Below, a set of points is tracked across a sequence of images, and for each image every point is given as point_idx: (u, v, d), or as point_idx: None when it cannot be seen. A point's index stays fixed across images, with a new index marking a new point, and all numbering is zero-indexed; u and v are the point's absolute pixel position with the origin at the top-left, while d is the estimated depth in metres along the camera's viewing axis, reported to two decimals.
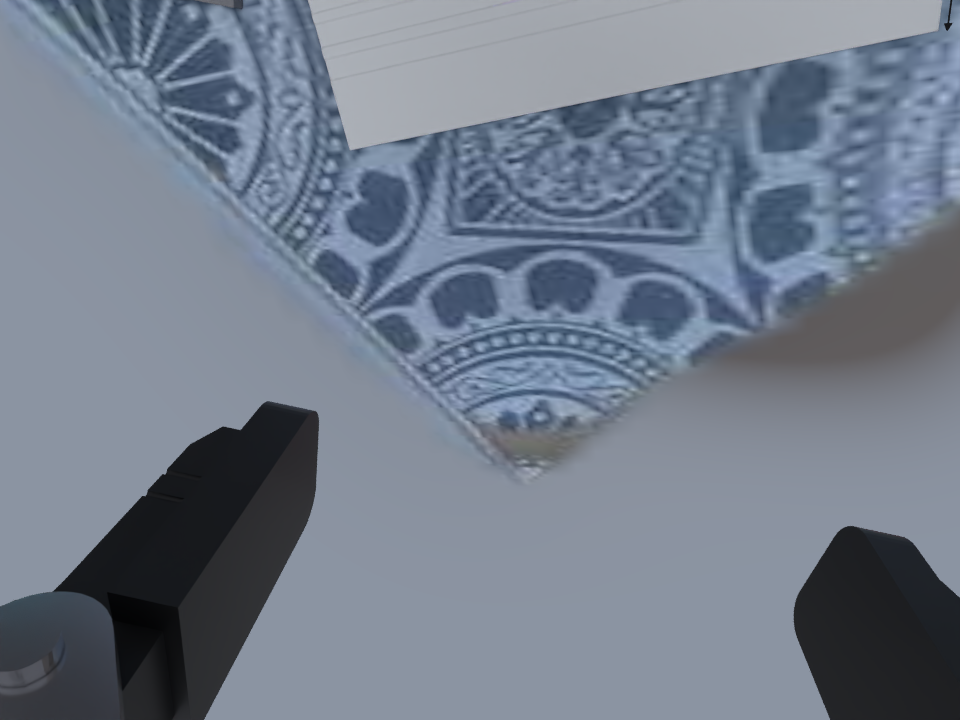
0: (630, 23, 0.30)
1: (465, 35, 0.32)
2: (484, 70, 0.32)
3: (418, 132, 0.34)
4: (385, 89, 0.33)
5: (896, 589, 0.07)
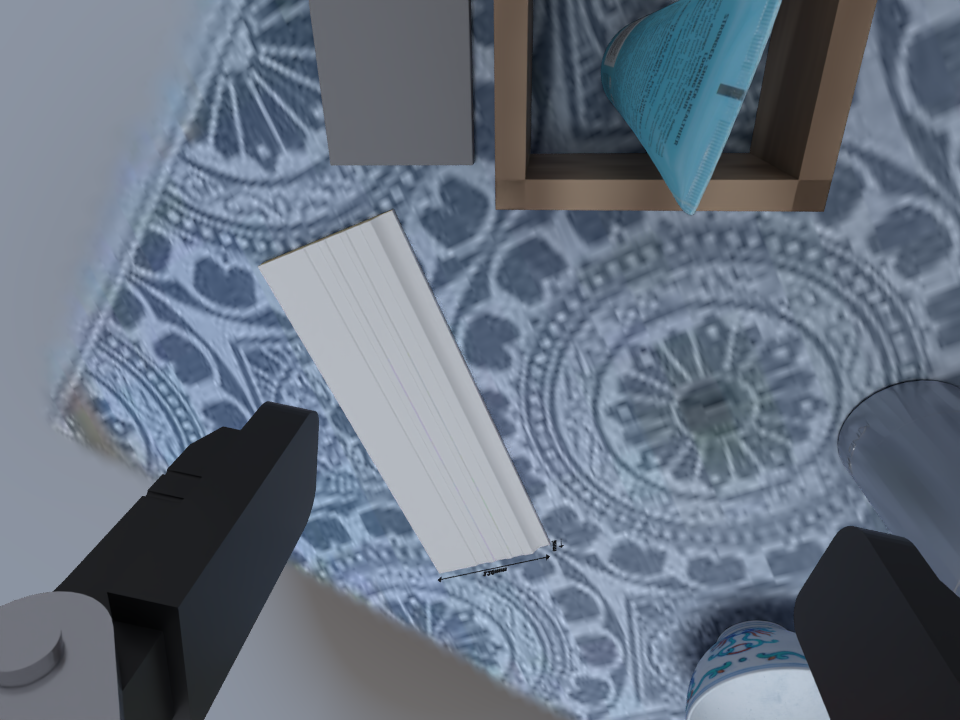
0: (402, 439, 0.47)
1: (365, 343, 0.43)
2: (348, 359, 0.44)
3: (291, 318, 0.43)
4: (312, 291, 0.42)
5: (896, 589, 0.07)
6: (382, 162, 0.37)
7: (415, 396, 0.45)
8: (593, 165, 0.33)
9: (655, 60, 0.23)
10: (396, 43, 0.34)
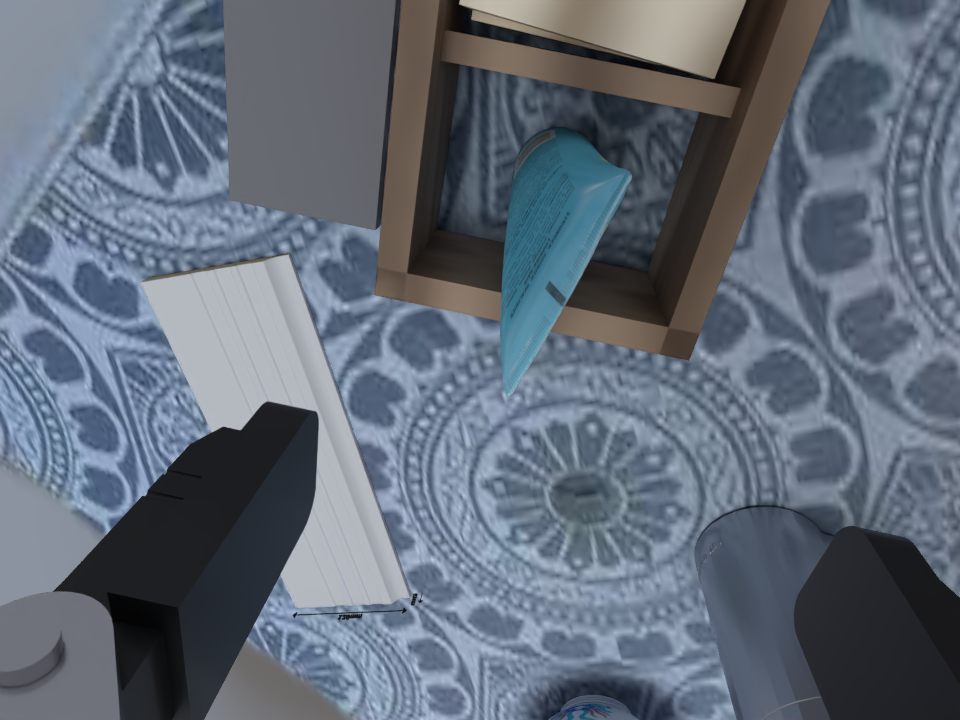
0: None
1: (245, 378, 0.42)
2: (225, 390, 0.42)
3: (170, 340, 0.41)
4: (195, 318, 0.40)
5: (896, 589, 0.07)
6: (283, 208, 0.35)
7: None
8: (487, 262, 0.32)
9: (526, 208, 0.22)
10: (311, 96, 0.32)
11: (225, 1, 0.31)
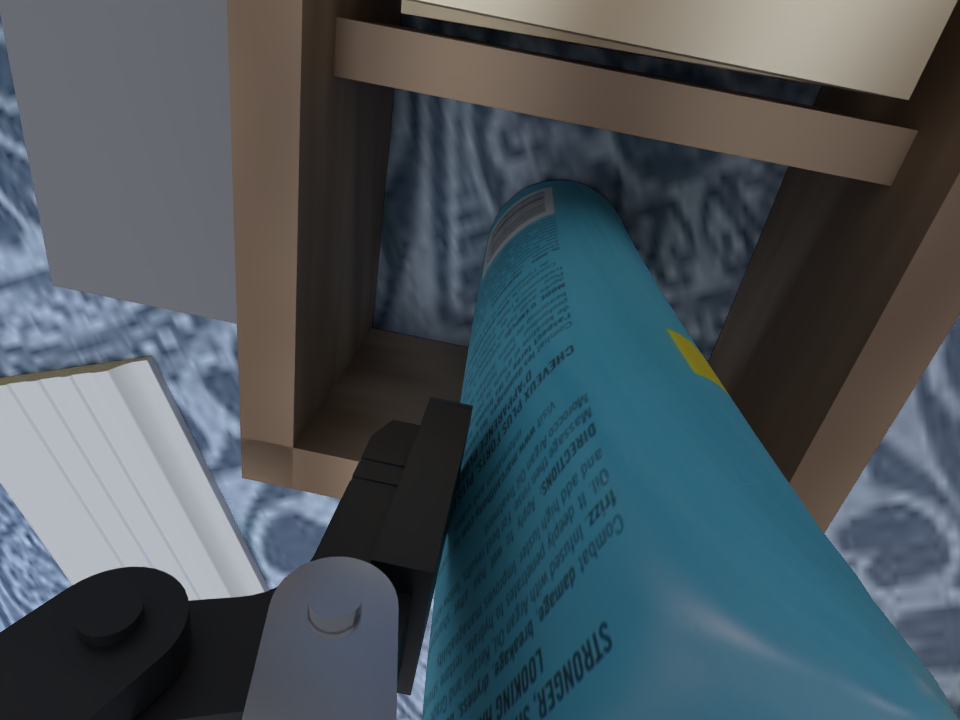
0: None
1: (106, 520, 0.29)
2: (81, 534, 0.30)
3: None
4: (23, 442, 0.27)
5: None
6: (134, 299, 0.23)
7: None
8: None
9: (491, 418, 0.10)
10: (155, 130, 0.20)
11: None
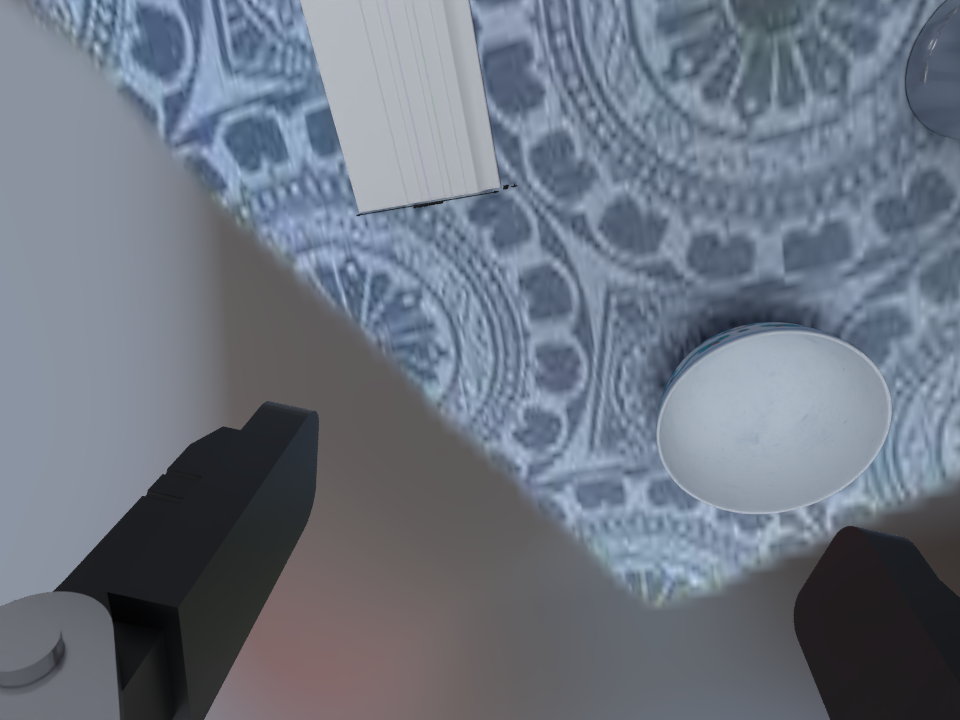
0: None
1: None
2: None
3: None
4: None
5: (896, 589, 0.07)
6: None
7: None
8: None
9: None
10: None
11: None
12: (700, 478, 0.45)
